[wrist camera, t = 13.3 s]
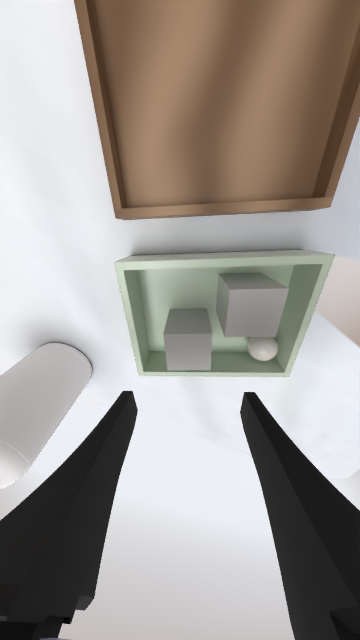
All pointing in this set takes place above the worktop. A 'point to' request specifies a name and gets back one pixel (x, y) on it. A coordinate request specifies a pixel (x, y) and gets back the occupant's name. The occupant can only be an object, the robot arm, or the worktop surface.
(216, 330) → the green bin
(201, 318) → the stone
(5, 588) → the robot arm
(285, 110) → the walnut tray
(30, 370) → the pill bottle
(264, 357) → the white ball
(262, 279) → the grey rectangular block
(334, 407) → the worktop surface
